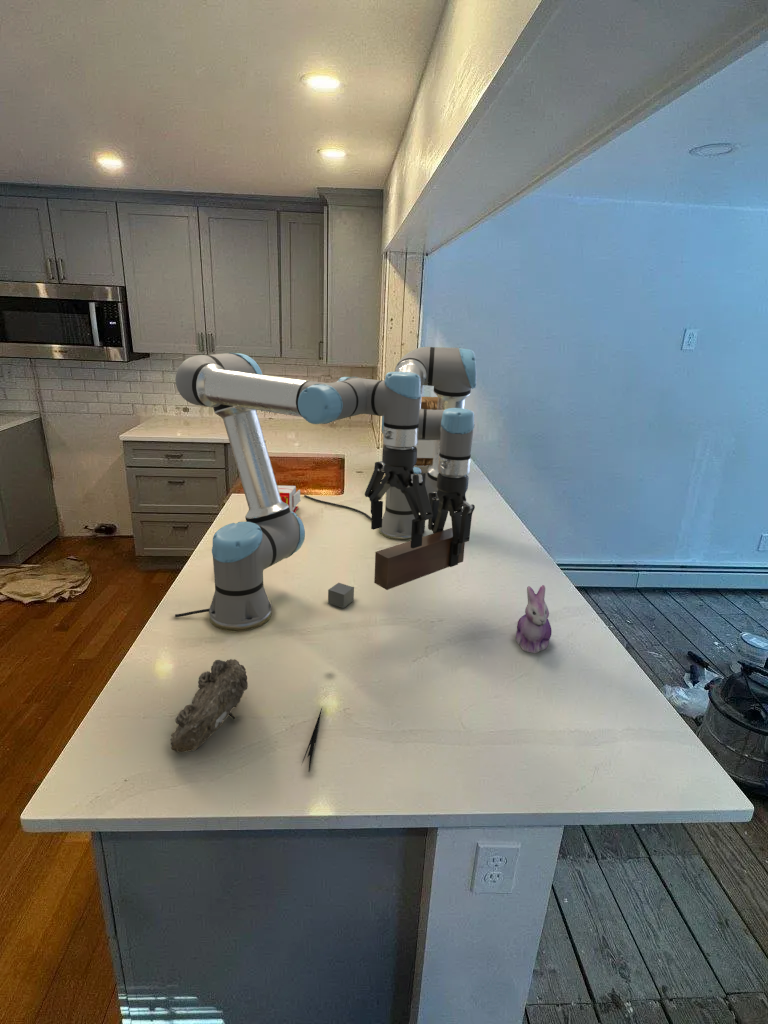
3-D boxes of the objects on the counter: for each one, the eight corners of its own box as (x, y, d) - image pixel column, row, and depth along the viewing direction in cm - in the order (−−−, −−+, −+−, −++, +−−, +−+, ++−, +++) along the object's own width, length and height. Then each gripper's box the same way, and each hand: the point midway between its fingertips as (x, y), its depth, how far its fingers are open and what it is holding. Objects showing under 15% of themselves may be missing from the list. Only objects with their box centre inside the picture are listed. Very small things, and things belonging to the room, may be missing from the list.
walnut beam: (374, 582, 133) (375, 551, 130) (450, 555, 149) (452, 527, 146) (386, 590, 130) (388, 558, 127) (463, 561, 146) (465, 532, 143)
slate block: (327, 603, 151) (328, 589, 150) (338, 595, 156) (338, 582, 154) (343, 608, 149) (343, 594, 148) (353, 600, 153) (354, 587, 152)
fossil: (195, 660, 117) (247, 628, 112) (227, 691, 120) (279, 661, 115) (146, 746, 98) (206, 711, 93) (185, 779, 101) (245, 748, 96)
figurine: (532, 659, 131) (541, 601, 125) (504, 636, 139) (511, 581, 134) (562, 649, 135) (572, 593, 130) (533, 628, 143) (541, 575, 138)
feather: (331, 679, 122) (336, 673, 122) (307, 777, 96) (313, 769, 95) (324, 675, 122) (329, 669, 121) (298, 772, 95) (304, 764, 95)
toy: (302, 480, 222) (292, 494, 192) (302, 514, 224) (292, 532, 195) (271, 480, 221) (256, 493, 192) (271, 513, 224) (256, 531, 195)
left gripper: (351, 437, 129) (349, 524, 136) (428, 460, 111) (421, 559, 118) (376, 433, 133) (373, 518, 141) (454, 455, 116) (446, 550, 123)
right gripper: (416, 467, 140) (411, 553, 148) (470, 485, 128) (461, 578, 136) (438, 463, 145) (431, 547, 153) (491, 480, 133) (481, 570, 141)
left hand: (395, 537), depth 129 cm, fingers open, 13 cm apart
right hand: (445, 561), depth 145 cm, fingers closed on walnut beam, 4 cm apart
